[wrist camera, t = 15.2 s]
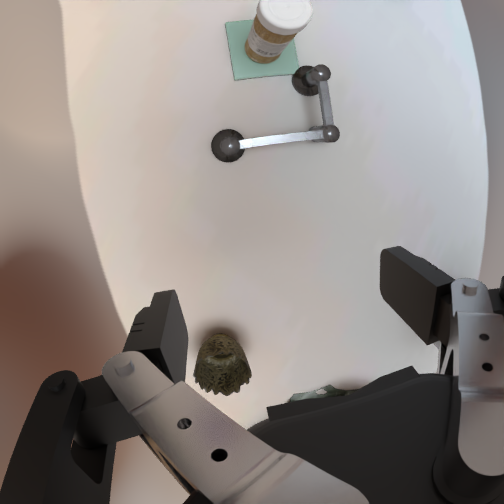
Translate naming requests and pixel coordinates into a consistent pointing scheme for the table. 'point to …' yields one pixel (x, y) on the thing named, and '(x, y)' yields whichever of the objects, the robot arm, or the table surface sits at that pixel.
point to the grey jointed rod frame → (306, 83)
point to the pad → (250, 68)
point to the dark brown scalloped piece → (221, 365)
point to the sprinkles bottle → (276, 27)
